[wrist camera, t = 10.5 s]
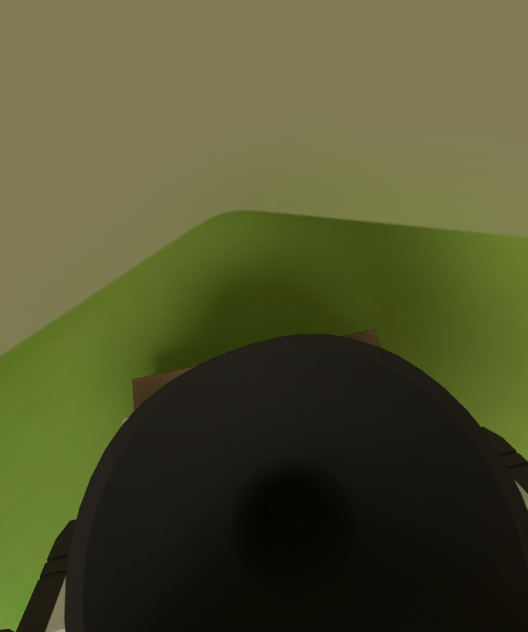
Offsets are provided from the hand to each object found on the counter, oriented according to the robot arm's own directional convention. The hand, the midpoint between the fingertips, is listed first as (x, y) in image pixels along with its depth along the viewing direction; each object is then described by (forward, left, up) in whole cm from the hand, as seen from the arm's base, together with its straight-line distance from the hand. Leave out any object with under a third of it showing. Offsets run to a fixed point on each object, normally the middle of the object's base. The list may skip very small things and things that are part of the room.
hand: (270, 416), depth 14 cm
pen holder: (0, +3, -4) cm, 5 cm away
